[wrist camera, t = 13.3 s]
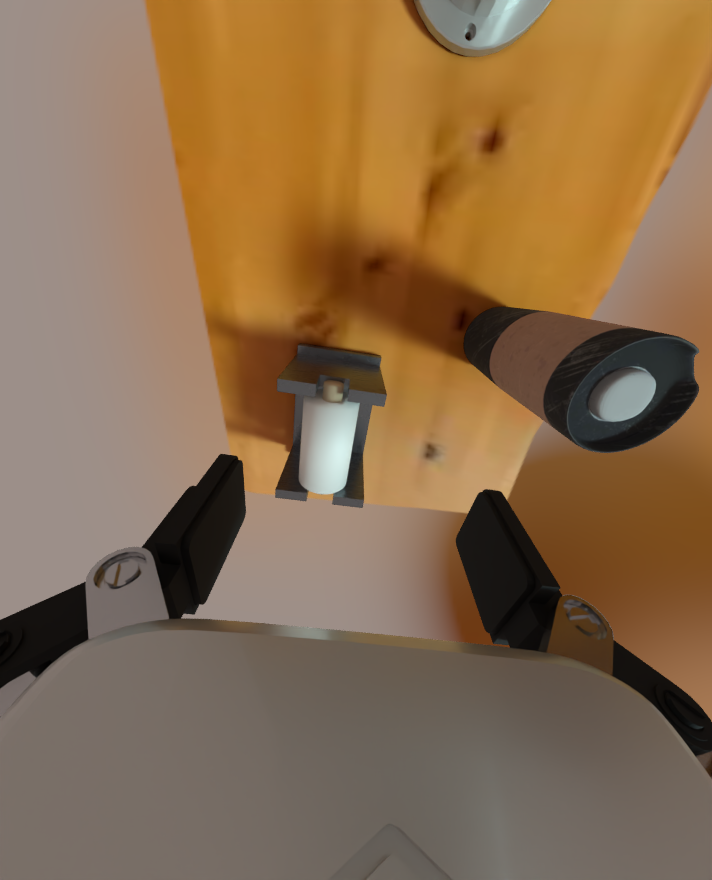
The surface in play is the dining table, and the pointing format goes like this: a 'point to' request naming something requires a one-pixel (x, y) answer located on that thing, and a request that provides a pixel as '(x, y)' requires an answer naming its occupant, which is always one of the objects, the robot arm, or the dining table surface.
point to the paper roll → (327, 438)
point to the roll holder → (361, 387)
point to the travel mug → (586, 374)
